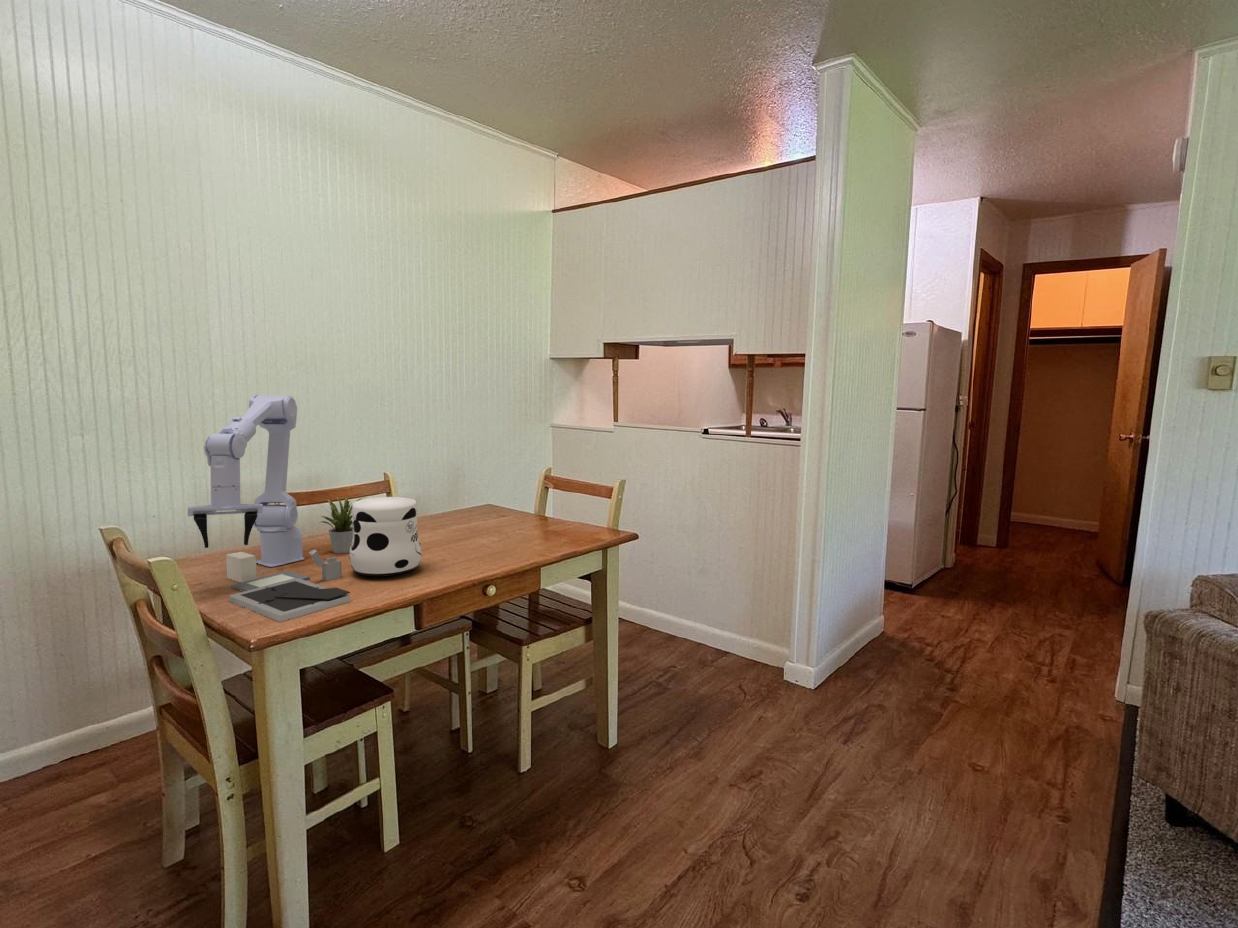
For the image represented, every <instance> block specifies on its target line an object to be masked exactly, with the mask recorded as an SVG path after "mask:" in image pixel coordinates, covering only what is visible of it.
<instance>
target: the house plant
mask: <svg viewBox="0 0 1238 928" xmlns="http://www.w3.org/2000/svg"><path fill="white" fill-rule="evenodd" d="M335 498H336V499H337V501H338V503H339V508H340V512H339V509H338V507H337V505H336V504H335V503H334V502H332V501H331V500H330V499H326V501H327V502H328V504H329V505H330V507H329V508H330V510H331V513H330V514H331V515H330V516H331V517H332V518H331V517H328V516H325V515H320V517H321V518H323V519H324V520H327V521H324V520H321V521H319V524H320V523H323V524H326V525H330V526H331V528H330V529H329V530H328V535H329V539H330V543H331V549H332V552H333V553H334V554H349V552H350V547H351V543H352V539H353V529H352V518H353V517H352V505H353V502H351V500H349V499H348V496H346V497H345V498H344V504H343V502H342V501H341V499H340V498H339V496H338V495H335ZM362 499H367V496H364V497H360V498H358V499H356V500H355V501H354V502H356V501H359V500H362ZM350 502H351V503H350ZM318 505H319V506H320V507H322V508H324V506H323V505H321V504H319V503H318V504H317V506H318ZM325 510H326V511H328V510H327V509H326V508H325ZM328 521H329V522H328Z"/></svg>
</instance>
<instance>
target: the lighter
mask: <svg viewBox="0 0 1238 928" xmlns="http://www.w3.org/2000/svg"><path fill="white" fill-rule="evenodd" d="M308 553H309V554H308V555H310V557H311V558H312V560H313V562H314V563H315V565H316V567H318V568H321V572H322V573H321V574H322V580H323V582H327V581H328V582H329V581H332V580H337V579H341V578H343V574H342V571H343V570H342V560H341V559H338V557H336V556H332V557H331V556H330V557H326V561H323V559H322V557H321V556H320V554H319V552H318V550H316V549H314V548H313V549H311V550H310V551H309V552H308Z"/></svg>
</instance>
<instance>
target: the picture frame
mask: <svg viewBox="0 0 1238 928" xmlns="http://www.w3.org/2000/svg"><path fill="white" fill-rule="evenodd" d="M350 594H351V592H350V591H349V590H346V589H342V588H339V587H326V586H323V585H320V584H317V583H314V582H310V581H309V580H306V581H305V580H302V579H299V578H297V579H293V580H289V581H285V582H281V583H277V584H273V585H269V586H265V587H261V588H257V589H253V590H249V591H245V592H243V591H241V592H237V593H234V594H230V595H228V601H230V603H232V604H234V603H235V605H236V604H237V606H239V605H240V606H239V607H241V606H243V607H242V608H244V607H245V608H244V609H246V608H248V609H247V610H249V609H250V610H249V611H251V610H252V612H254V611H255V612H254V613H256V612H257V614H258V613H259V615H261V616H263V615H264V617H266V618H269V619H270V620H273V619H275V620H274V621H276V620H277V621H276V622H278V621H279V622H278V623H282V622H281V621H283V622H285V620H286V621H289V620H288V619H290V620H292V619H295V618H300V617H303V616H306V615H310V614H312V613H313V614H314V613H317V612H319V611H323V610H326V609H329V608H333V607H336V606H339V605H340V606H341V605H343V604H346V603H350V602H351V595H350Z"/></svg>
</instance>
